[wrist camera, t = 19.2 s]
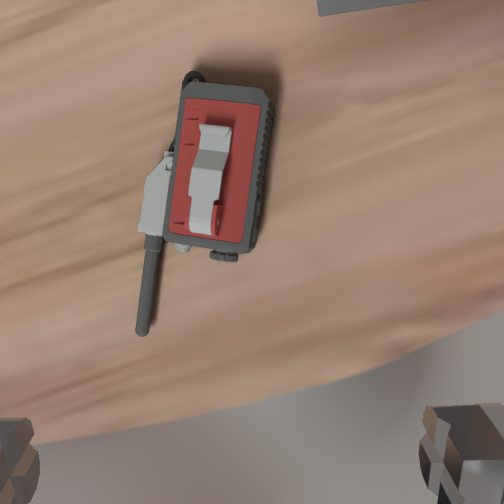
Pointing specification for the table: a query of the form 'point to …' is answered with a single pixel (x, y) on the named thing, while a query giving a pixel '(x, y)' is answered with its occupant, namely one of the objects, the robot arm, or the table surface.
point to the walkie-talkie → (206, 179)
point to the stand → (354, 5)
